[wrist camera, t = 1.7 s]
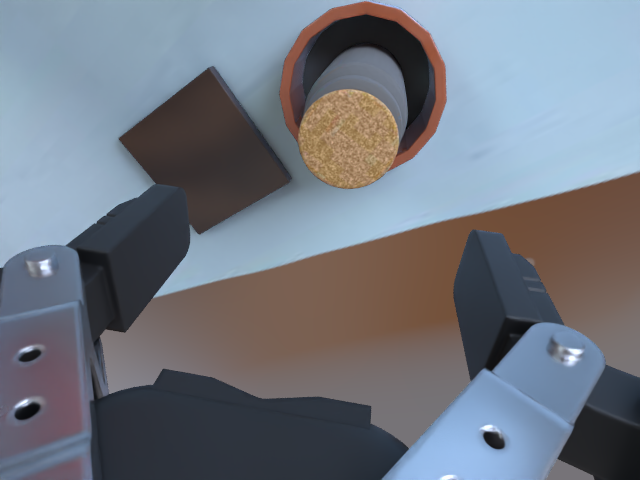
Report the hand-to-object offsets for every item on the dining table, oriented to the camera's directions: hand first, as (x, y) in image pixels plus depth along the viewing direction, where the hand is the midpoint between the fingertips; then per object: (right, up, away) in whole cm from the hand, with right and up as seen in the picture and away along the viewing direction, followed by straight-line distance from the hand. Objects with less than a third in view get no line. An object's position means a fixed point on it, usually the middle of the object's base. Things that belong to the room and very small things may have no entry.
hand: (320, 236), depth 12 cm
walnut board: (-10, +7, +25) cm, 28 cm away
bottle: (+4, +12, +20) cm, 24 cm away
